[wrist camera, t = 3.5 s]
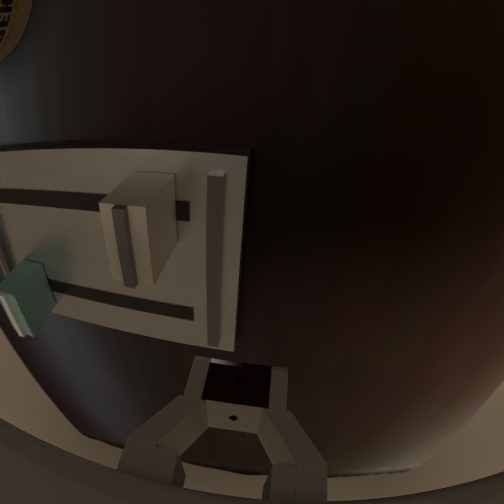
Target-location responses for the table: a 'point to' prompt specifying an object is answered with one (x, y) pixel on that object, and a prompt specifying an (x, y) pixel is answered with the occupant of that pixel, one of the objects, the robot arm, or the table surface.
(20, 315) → the fader
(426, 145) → the table surface
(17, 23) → the coffee cup
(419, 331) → the table surface
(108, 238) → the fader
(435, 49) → the table surface
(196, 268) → the console
